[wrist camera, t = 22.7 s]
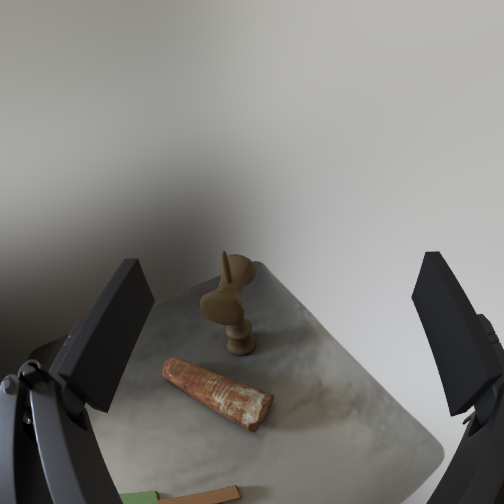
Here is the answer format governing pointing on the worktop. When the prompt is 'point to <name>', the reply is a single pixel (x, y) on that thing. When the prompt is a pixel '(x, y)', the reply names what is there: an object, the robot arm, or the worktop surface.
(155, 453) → the worktop surface
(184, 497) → the spatula
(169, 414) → the worktop surface
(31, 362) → the robot arm
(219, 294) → the kendama
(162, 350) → the worktop surface
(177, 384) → the reddish brown tapered cylinder
